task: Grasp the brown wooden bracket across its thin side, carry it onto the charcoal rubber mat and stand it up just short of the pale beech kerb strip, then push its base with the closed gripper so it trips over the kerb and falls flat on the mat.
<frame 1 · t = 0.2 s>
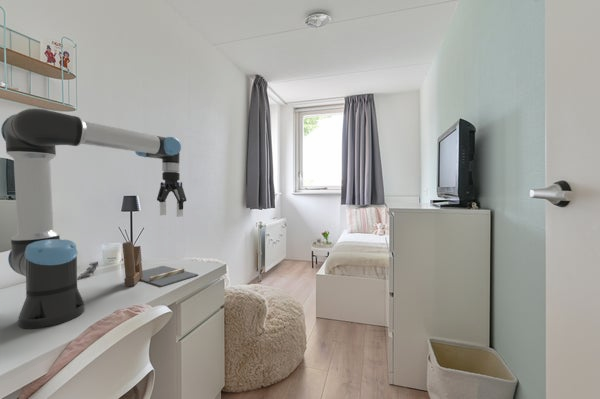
hand: (171, 215, 131), 27 cm above the table, fingers open, 13 cm apart
brown wooden bracket: (134, 282, 116), on the table, touching mat
kerb: (167, 277, 123), resting on mat
mat: (162, 275, 125), on the table
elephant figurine: (91, 276, 125), on the table
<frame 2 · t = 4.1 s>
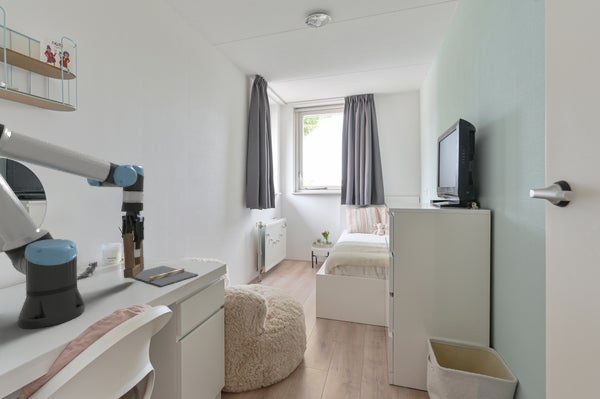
hand: (132, 255, 115), 12 cm above the table
brown wooden bracket: (134, 274, 115), point 4 cm above the table, touching gripper
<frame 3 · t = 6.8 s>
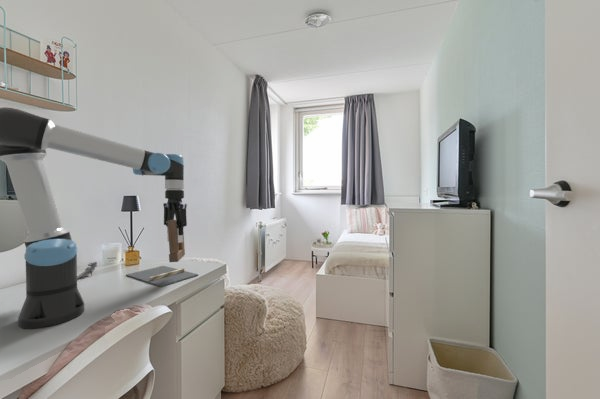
hand: (175, 241, 120), 17 cm above the table
brown wooden bracket: (177, 259, 120), point 9 cm above the table, touching gripper
everything else where it was.
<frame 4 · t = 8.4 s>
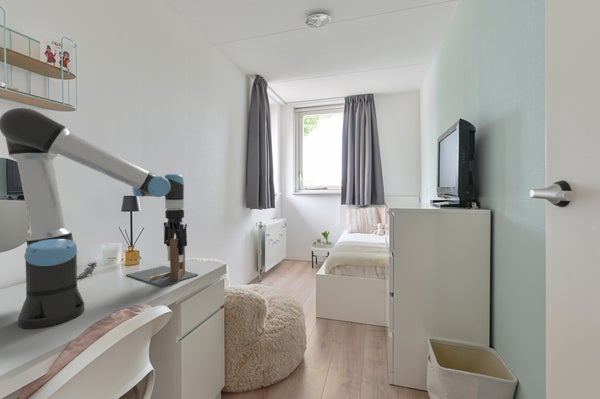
hand: (175, 261, 120), 8 cm above the table, fingers open, 6 cm apart
brown wooden bracket: (177, 278, 120), on the table, touching gripper, mat
everything else where it was.
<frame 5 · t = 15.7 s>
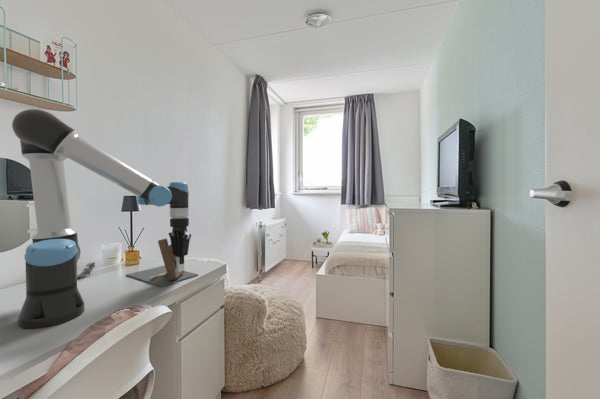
hand: (180, 270, 118), 4 cm above the table, fingers closed
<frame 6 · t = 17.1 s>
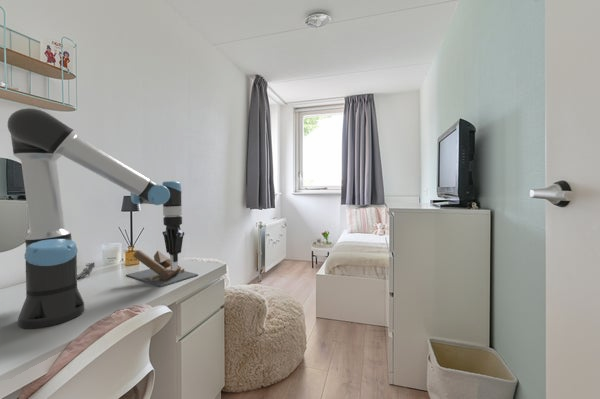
hand: (174, 268, 120), 5 cm above the table, fingers closed
brown wooden bracket: (173, 274, 121), point 2 cm above the table, touching gripper, kerb, mat
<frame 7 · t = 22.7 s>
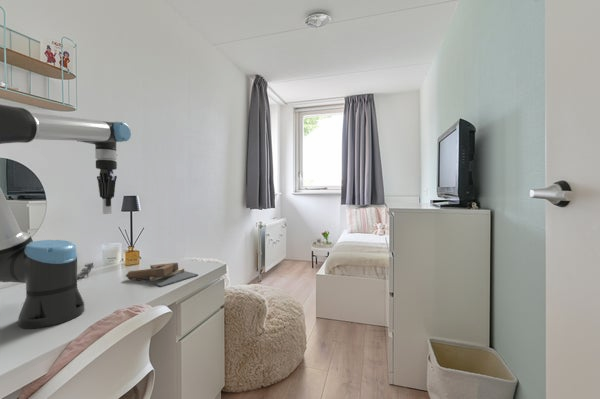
hand: (107, 213, 119), 29 cm above the table, fingers closed
brown wooden bracket: (171, 269, 121), point 4 cm above the table, touching kerb, mat
at the end: brown wooden bracket tilted 98°; brown wooden bracket inside the target area on the mat (8.9 cm from its centre), point 4.3 cm above the mat's base; the gripper is holding nothing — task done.
